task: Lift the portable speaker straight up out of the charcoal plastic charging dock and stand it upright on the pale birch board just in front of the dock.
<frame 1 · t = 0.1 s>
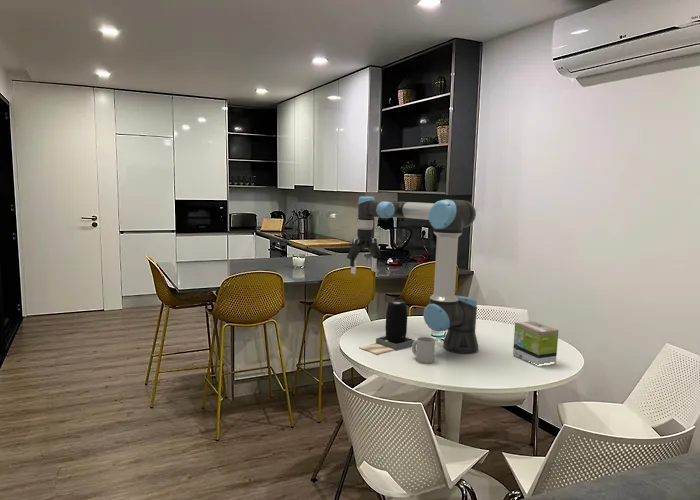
hand: (363, 272, 250), 28 cm above the table, tool pointing down, fingers open, 13 cm apart
birch board: (376, 349, 221), on the table
portable speaker: (395, 345, 228), resting in charging dock
tea box: (533, 360, 213), on the table
cup: (421, 360, 208), on the table
charging dock: (395, 344, 228), on the table
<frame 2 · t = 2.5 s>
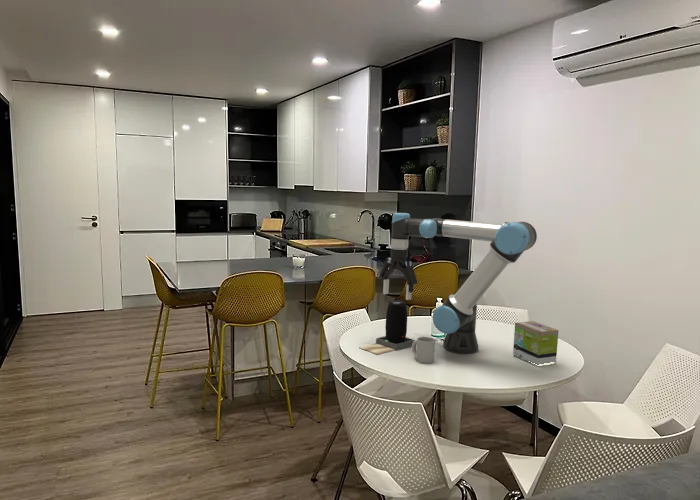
hand: (396, 296, 226), 22 cm above the table, tool pointing down, fingers open, 13 cm apart
nothing on the table moved.
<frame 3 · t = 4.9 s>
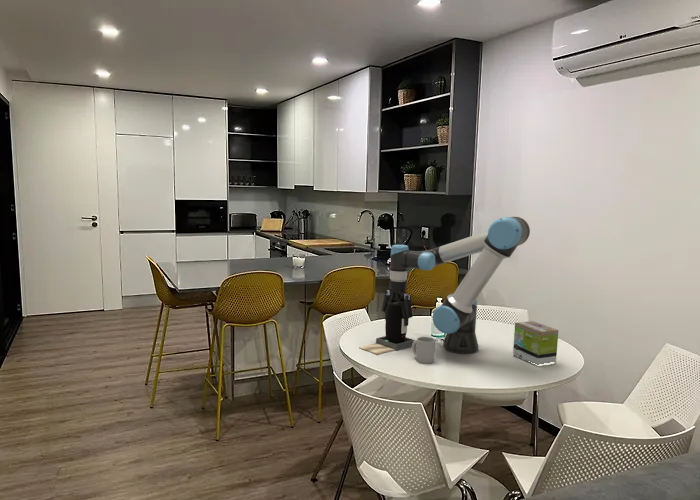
hand: (396, 330, 228), 6 cm above the table, tool pointing down, fingers closed on portable speaker, 9 cm apart
portable speaker: (395, 345, 228), resting in charging dock, touching gripper
everything else where it was.
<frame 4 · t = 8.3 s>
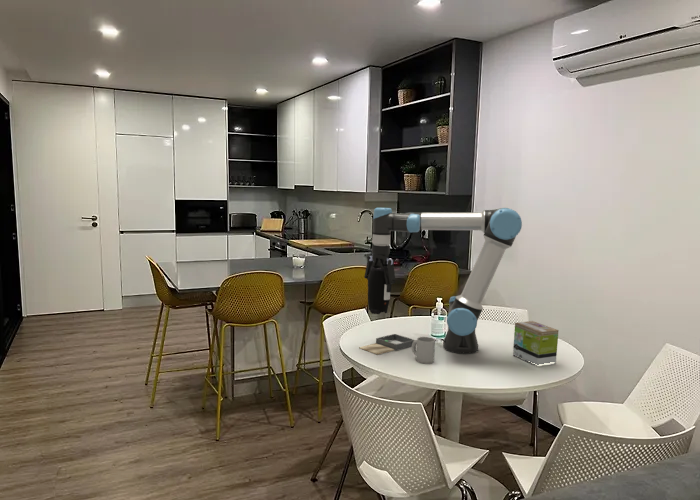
hand: (378, 297, 218), 23 cm above the table, tool pointing down, fingers closed on portable speaker, 9 cm apart
portable speaker: (378, 312, 219), point 16 cm above the table, touching gripper
everything else where it was.
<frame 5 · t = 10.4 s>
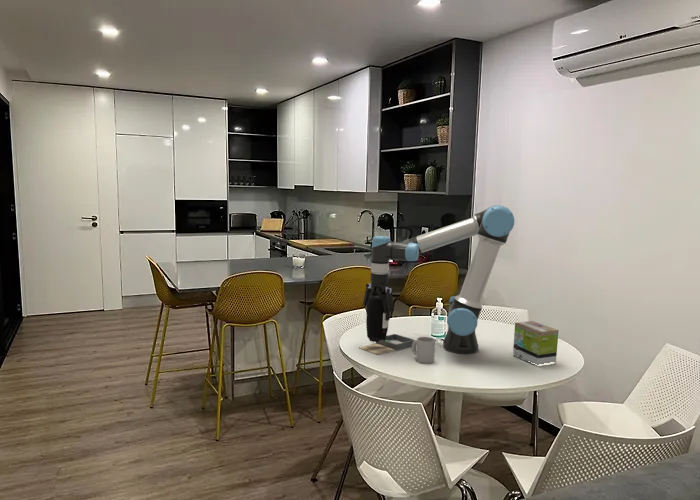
hand: (377, 325, 219), 11 cm above the table, tool pointing down, fingers closed on portable speaker, 9 cm apart
portable speaker: (376, 340, 220), point 4 cm above the table, touching gripper
everything else where it was.
when the fingers open (8 cm above the table, at t = 11.8 s): portable speaker drops 1 cm, resting on birch board.
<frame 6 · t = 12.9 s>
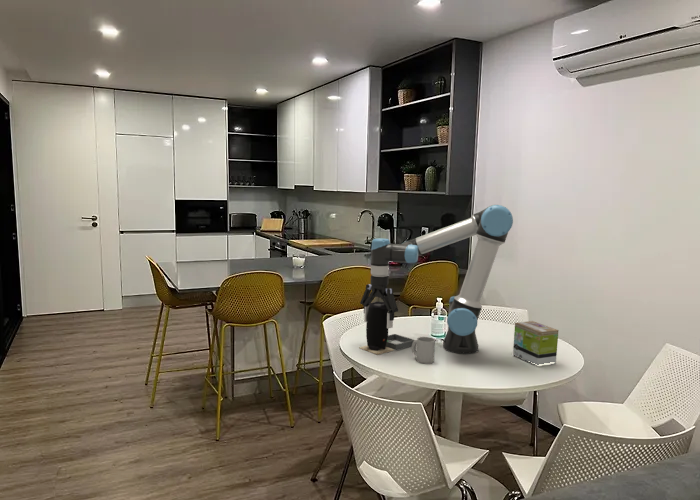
hand: (378, 324, 219), 11 cm above the table, tool pointing down, fingers open, 13 cm apart
portable speaker: (376, 348, 221), resting on birch board
everything else where it was.
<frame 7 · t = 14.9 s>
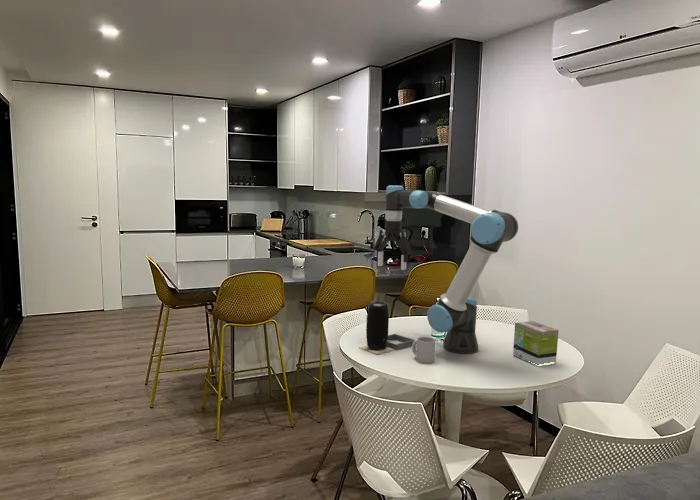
hand: (391, 267, 232), 33 cm above the table, tool pointing down, fingers open, 13 cm apart
nothing on the table moved.
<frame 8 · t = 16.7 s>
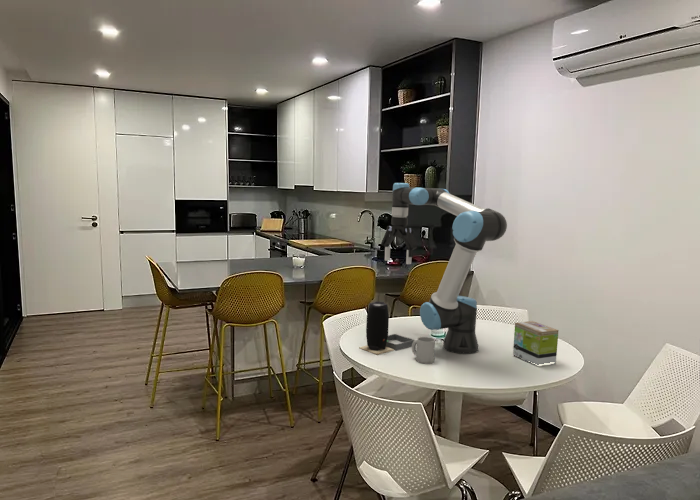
hand: (397, 262, 240), 35 cm above the table, tool pointing down, fingers open, 13 cm apart
nothing on the table moved.
at the end: portable speaker 0.1 cm off-centre on the birch board, point 0.3 cm above the birch board's base; portable speaker tilted 0°; the gripper is holding nothing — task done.
